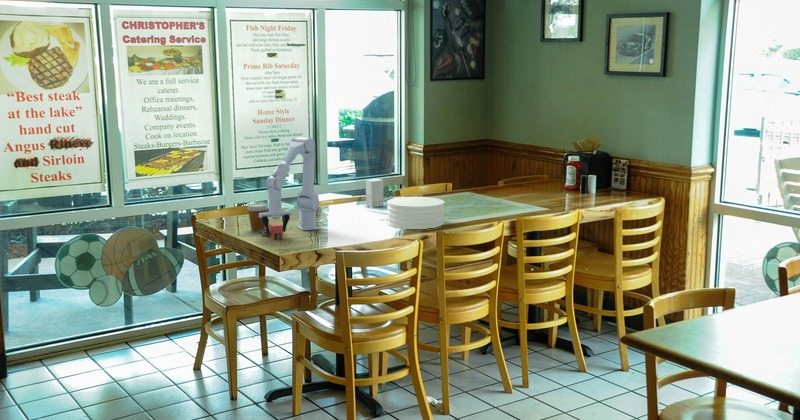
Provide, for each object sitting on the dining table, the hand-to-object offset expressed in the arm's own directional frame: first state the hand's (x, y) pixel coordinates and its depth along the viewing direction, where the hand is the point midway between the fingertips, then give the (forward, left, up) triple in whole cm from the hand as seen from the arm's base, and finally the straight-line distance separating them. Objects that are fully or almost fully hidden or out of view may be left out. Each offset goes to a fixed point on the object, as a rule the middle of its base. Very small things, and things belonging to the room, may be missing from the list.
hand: (275, 232), depth 382 cm
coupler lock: (0, 0, -2) cm, 2 cm away
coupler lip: (-3, 0, -2) cm, 4 cm away
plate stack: (-5, +71, -3) cm, 72 cm away
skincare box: (-57, +69, -3) cm, 90 cm away
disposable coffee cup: (-19, -4, -3) cm, 20 cm away
